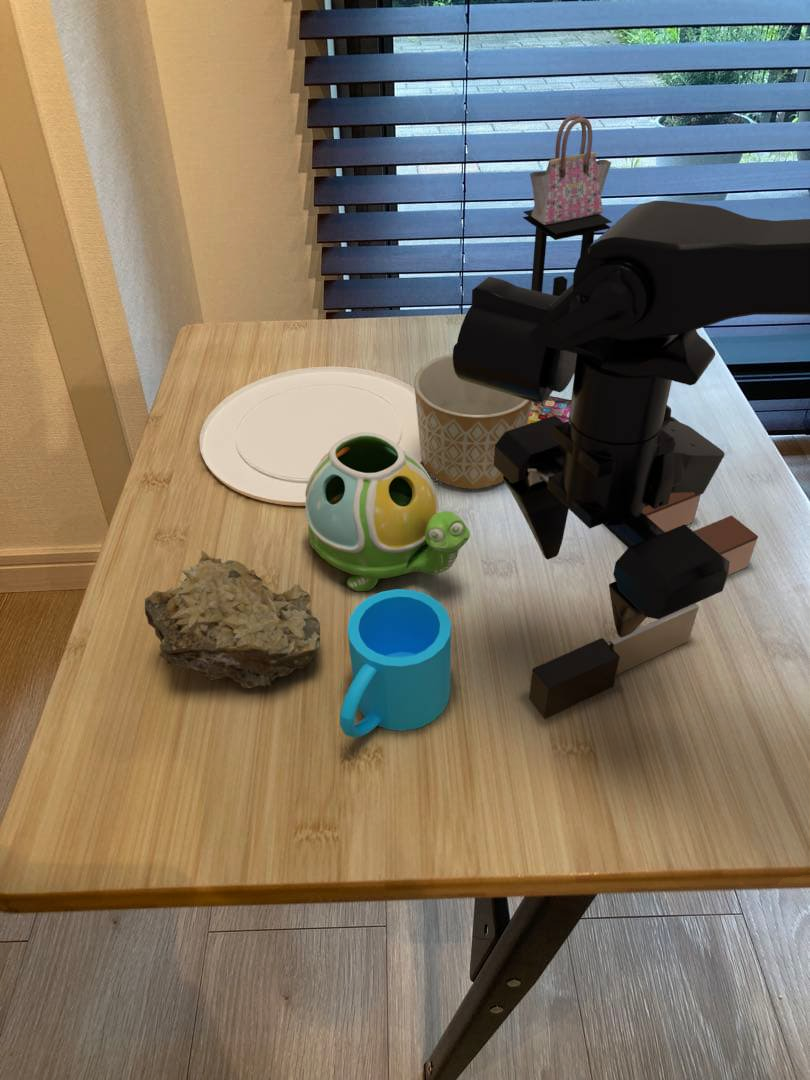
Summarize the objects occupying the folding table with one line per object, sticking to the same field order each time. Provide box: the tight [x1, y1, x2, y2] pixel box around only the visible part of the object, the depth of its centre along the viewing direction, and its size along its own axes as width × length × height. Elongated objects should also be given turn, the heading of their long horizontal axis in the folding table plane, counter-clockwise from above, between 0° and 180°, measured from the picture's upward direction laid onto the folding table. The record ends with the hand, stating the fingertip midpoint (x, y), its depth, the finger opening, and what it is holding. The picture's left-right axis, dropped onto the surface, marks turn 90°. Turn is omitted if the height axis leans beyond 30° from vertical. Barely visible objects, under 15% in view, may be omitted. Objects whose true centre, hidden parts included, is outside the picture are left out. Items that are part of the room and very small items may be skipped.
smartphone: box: [527, 395, 571, 424], centre depth 101 cm, size 8×1×15 cm
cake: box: [642, 492, 702, 532], centre depth 87 cm, size 8×8×4 cm
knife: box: [528, 603, 700, 720], centre depth 71 cm, size 16×2×4 cm, turn 117°
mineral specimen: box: [144, 549, 321, 689], centre depth 73 cm, size 14×13×10 cm
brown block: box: [693, 515, 759, 577], centre depth 80 cm, size 4×8×4 cm, turn 118°
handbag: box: [522, 114, 613, 374], centre depth 102 cm, size 10×8×30 cm
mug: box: [339, 588, 452, 739], centre depth 68 cm, size 12×8×8 cm
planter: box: [413, 353, 532, 489], centre depth 92 cm, size 13×13×10 cm
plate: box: [199, 366, 423, 507], centre depth 100 cm, size 28×28×1 cm
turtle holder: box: [304, 432, 471, 592], centre depth 80 cm, size 12×18×12 cm
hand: (586, 593), depth 63 cm, fingers open, 9 cm apart
